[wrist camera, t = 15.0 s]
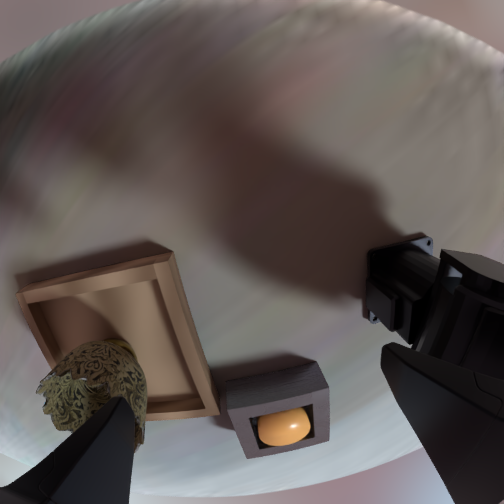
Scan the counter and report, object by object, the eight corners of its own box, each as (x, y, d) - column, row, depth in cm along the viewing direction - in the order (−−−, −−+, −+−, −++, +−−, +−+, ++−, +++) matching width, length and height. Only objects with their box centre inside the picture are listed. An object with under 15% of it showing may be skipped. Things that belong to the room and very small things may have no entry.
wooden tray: (173, 251, 19) (168, 260, 17) (220, 398, 23) (220, 414, 21) (28, 284, 18) (15, 293, 16) (91, 406, 23) (85, 420, 21)
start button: (302, 390, 22) (309, 410, 20) (305, 420, 23) (311, 438, 21) (251, 401, 22) (254, 422, 20) (260, 430, 23) (263, 449, 21)
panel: (316, 361, 23) (329, 387, 20) (319, 416, 25) (329, 440, 22) (225, 381, 23) (227, 410, 19) (244, 433, 25) (247, 458, 22)
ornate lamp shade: (158, 394, 22) (143, 466, 14) (82, 372, 21) (49, 434, 13) (166, 326, 20) (143, 402, 12) (78, 302, 19) (26, 360, 11)
